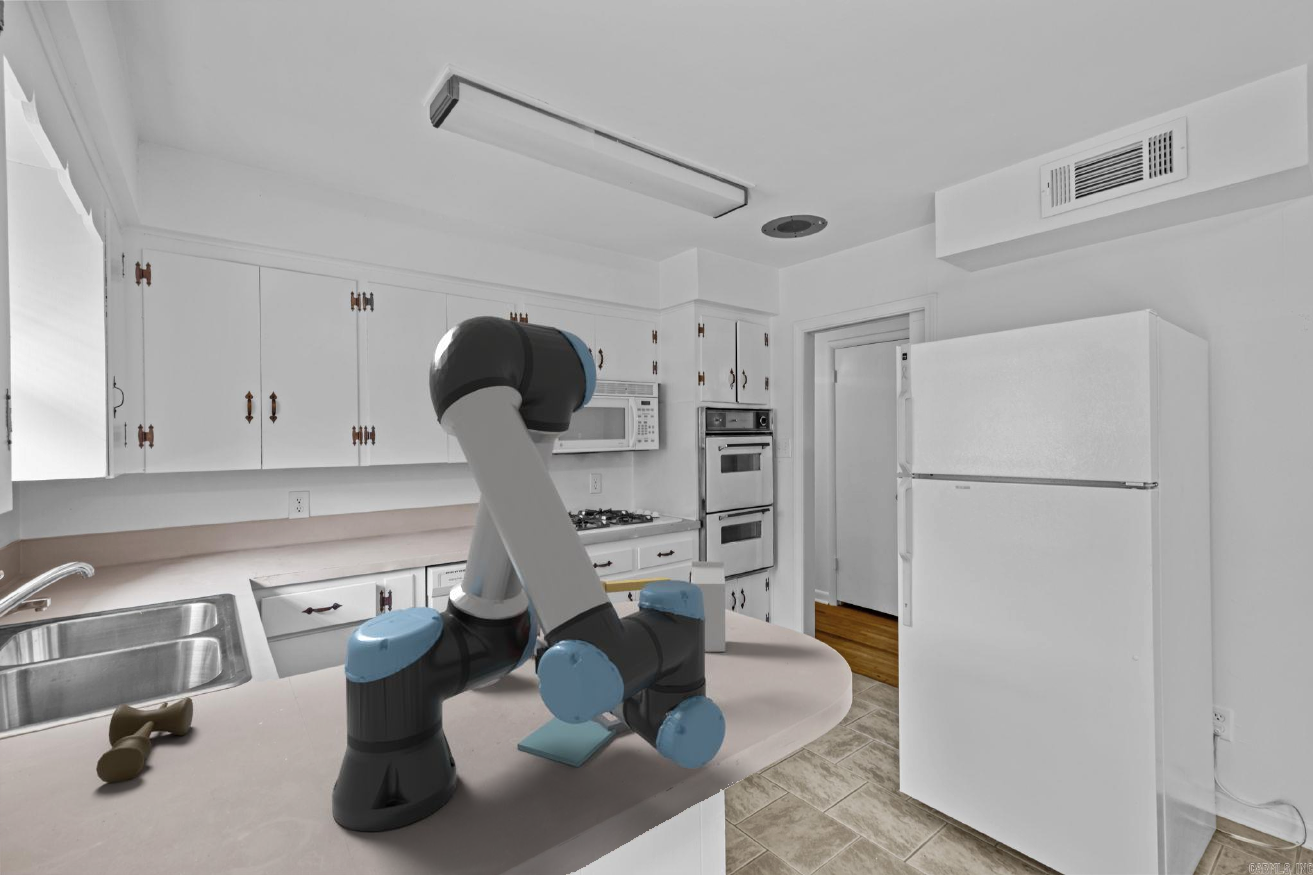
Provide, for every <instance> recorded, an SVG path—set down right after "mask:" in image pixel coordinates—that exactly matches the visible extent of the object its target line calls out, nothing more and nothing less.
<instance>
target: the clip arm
mask: <svg viewBox="0 0 1313 875" xmlns="http://www.w3.org/2000/svg"><path fill="white" fill-rule="evenodd" d="M662 580H671V579H670V578H669V577H668V576H667V577H653V578H640V579H628V580H627V579H626V580H615V581H605V580H600V581H601V583H602V585H603V587H604V589H605V591H606V593H607V594H608V593H622V592H623V593H624V592H632V591H641V590H642V588H643V586H644V585H646V584H648V583H651V582H655V581H662Z"/></svg>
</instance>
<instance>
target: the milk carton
mask: <svg viewBox="0 0 1313 875" xmlns="http://www.w3.org/2000/svg"><path fill="white" fill-rule="evenodd" d="M724 566H725V564H724V561H691V569H690V570H691V572H690V583H693V584H695V585H697V586H698V587H699V588H700V589H701V591H702V594H703V604H704V616H705V618H706V621H705V653H709V652H712V653H714V652H720V653H721V652H726V578H725V567H724Z"/></svg>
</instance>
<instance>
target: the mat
mask: <svg viewBox="0 0 1313 875" xmlns="http://www.w3.org/2000/svg"><path fill="white" fill-rule="evenodd" d="M615 735H617V733H616V728H615V729H612V730H609V731H607V730H606V729H605V728H604V727H603V726H601V725H600V724H599V723H597V722H593V721H590V720H589V721H587V722H584V723H580V724H570V723H566V722H563V721H561V720H559V719H558V718H557V717H555V716H554V717H552V718H551V719H550V720H549V721H547V722H546V723H544V724H543V725H542V726H540V727H538V729H536V730H535V731H533V732H531V734H529V735H528V736H526V737H525V738H523V739H522V740H521V741H519V742H517V747H516V748H517V750H519V751H522V752H526V753H528V754H529V753H530V754H533V755H536V756H539V757H542V758H546V759H549V760H553V761H556V762H558V763H559V762H560V763H562V764H563V763H564V764H566V765H570V766H572V767H576V768H579V767H580V766H582V764H583V763H585V762H586V760H588V759H589V758H590V757H591V756H593V754H595V753H596V752H597V751H598V750H599V749H601V747H602V746H604V744H606V743H607V742H608V741H609V740H610V739H611V738H612V737H614V736H615Z"/></svg>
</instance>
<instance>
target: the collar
mask: <svg viewBox="0 0 1313 875" xmlns="http://www.w3.org/2000/svg"><path fill="white" fill-rule="evenodd" d="M589 721H593V722H597V723H599V724H600V725H601V726H603V727H604V728H605V729H606V730H607V731H609V730H612V729H615V728H616V734H617V733H621V732H624V731H627V730H631V729H630V728H629V727H628V726H626V725H625V724H624V723H623V722H621V721H620V720H619V719H617V718H616V719H614V720H609V718H608V717H606V716H605V715H604V714H601V715H599V716H597V717H595V718H593V719H591V720H589Z"/></svg>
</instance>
